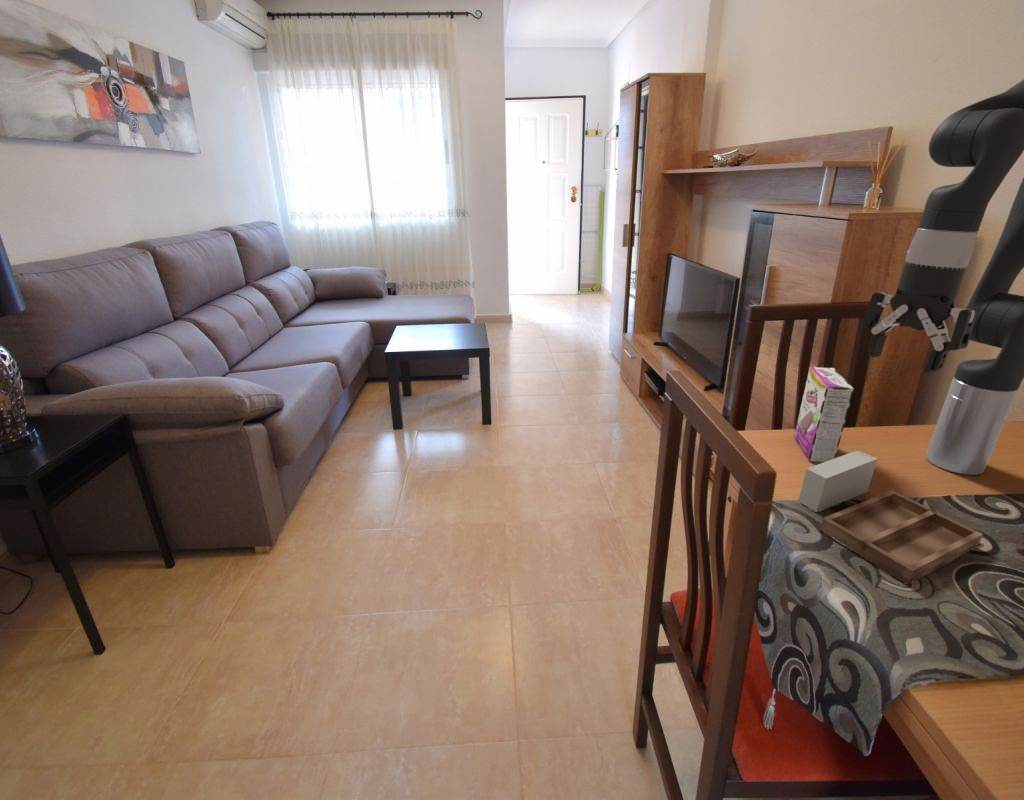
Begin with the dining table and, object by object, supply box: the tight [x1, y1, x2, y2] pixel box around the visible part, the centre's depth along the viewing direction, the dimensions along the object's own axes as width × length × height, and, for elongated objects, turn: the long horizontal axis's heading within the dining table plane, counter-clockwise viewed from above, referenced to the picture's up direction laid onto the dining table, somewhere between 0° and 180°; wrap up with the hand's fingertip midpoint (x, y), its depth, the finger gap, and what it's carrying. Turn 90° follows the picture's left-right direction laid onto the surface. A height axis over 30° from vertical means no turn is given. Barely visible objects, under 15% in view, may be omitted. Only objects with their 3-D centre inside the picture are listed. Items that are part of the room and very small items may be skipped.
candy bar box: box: [793, 366, 855, 464], centre depth 106 cm, size 11×5×16 cm, turn 168°
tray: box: [819, 489, 983, 585], centre depth 82 cm, size 18×13×2 cm
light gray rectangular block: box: [797, 449, 878, 511], centre depth 92 cm, size 14×4×7 cm, turn 117°
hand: (900, 364), depth 85 cm, fingers open, 8 cm apart
